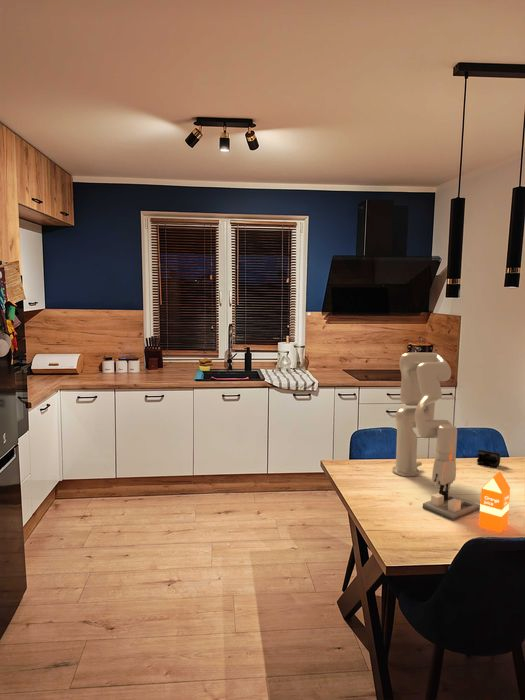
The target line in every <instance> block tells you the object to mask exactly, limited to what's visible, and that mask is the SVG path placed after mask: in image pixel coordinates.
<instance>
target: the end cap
mask: <svg viewBox="0 0 525 700" xmlns="http://www.w3.org/2000/svg"><path fill="white" fill-rule="evenodd" d="M476 456H477V459H476V462H477V466H481V467H487V468H490V469H491V468H492V469H497V468H498V467H499V466H500V463H501V459H502V458H501V453H500V452H499V453H498V452H492V451H488V450H482V449H478V453H477V454H476Z"/></svg>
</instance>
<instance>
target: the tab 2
mask: <svg viewBox="0 0 525 700" xmlns="http://www.w3.org/2000/svg"><path fill="white" fill-rule="evenodd" d="M460 510H461V501H460V500H458V499H455V498H454V499H451V500H448V511H451V512H453V513H455V512H457V511H460Z"/></svg>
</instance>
